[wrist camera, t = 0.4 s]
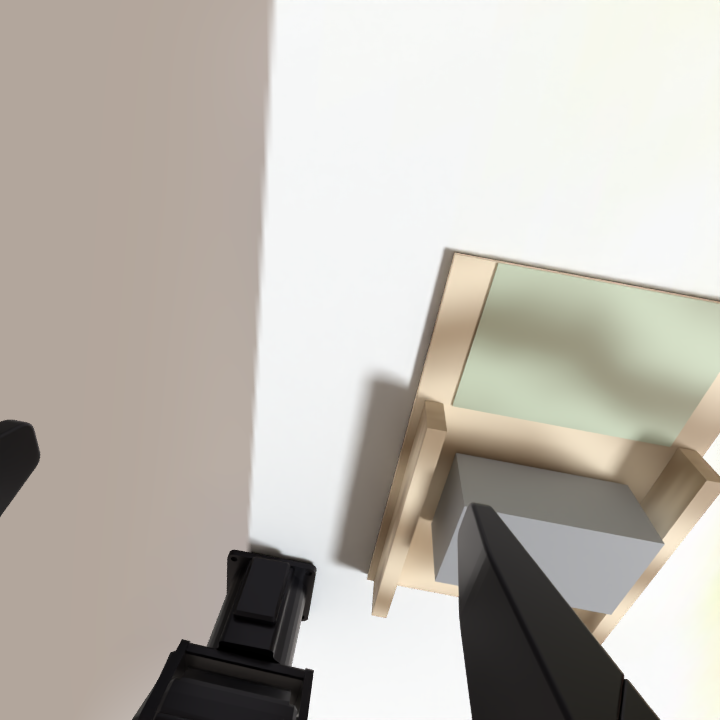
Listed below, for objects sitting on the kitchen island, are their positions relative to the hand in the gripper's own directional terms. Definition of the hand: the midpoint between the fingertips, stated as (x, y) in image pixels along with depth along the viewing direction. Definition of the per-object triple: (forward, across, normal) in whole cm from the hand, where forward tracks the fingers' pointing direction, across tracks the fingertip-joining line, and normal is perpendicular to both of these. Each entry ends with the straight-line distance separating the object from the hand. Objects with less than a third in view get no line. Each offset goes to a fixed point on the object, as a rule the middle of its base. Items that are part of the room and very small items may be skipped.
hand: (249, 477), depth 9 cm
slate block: (+14, -13, +12) cm, 23 cm away
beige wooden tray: (+14, -13, +10) cm, 21 cm away
